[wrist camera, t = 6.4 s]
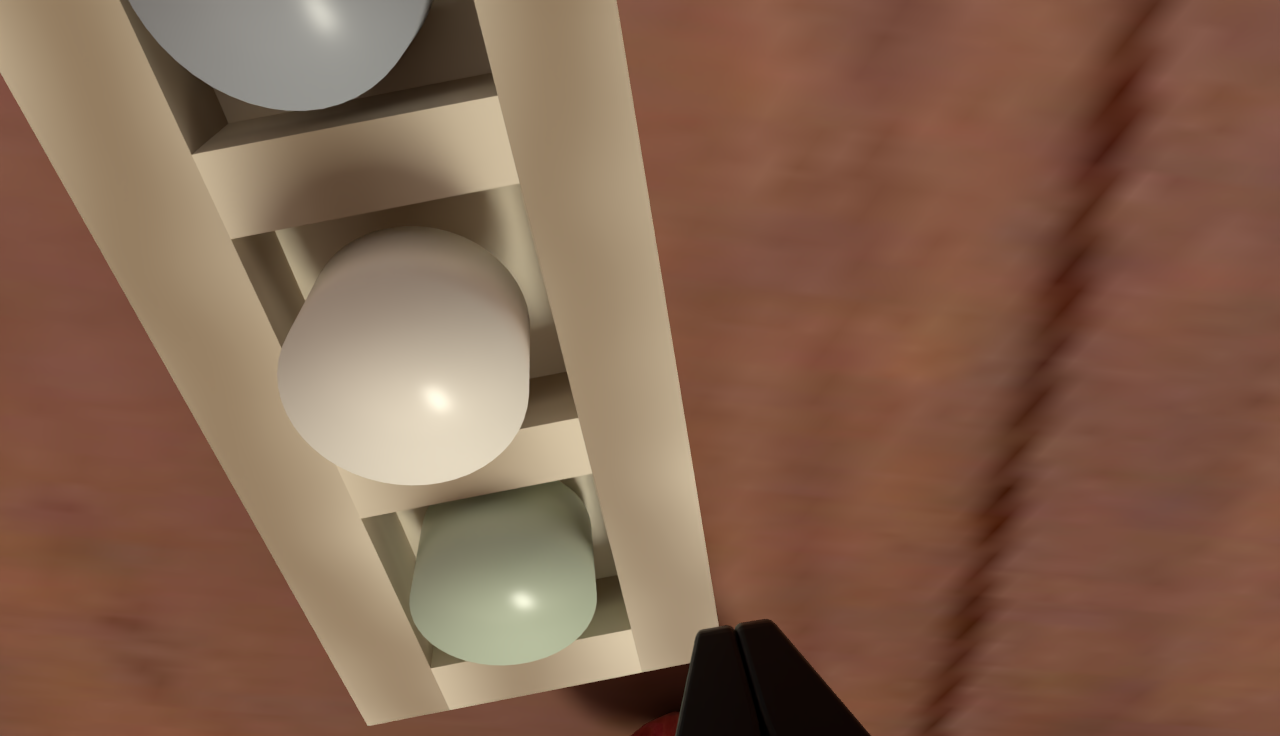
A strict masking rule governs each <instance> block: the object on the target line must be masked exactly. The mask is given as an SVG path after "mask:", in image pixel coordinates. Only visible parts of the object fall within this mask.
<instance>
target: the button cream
mask: <svg viewBox="0 0 1280 736" xmlns="http://www.w3.org/2000/svg"><path fill="white" fill-rule="evenodd" d="M529 370H530V317H529V312H528V307H527V304H526V301H525V298H524V295H523V293H522V291H521V289H520V287H519V285H518V283H517V282H516V280H515V279H514V277H513V276H512V274H511V273H510V272H509V270H508V269H507V268H506V267H505V266H504V265H503V264H502V263H501V262H500V261H499V260H498V259H497V258H496V257H495V256H493V255H492V254H491V253H490V252H489V251H487V250H486V249H484V248H483V247H481V246H480V245H478V244H477V243H475V242H473V241H471V240H469V239H467V238H465V237H463V236H460V235H457V234H454V233H452V232H449V231H445V230H441V229H436V228H431V227H422V226H400V227H392V228H386V229H382V230H378V231H374V232H371V233H369V234H367V235H364V236H362V237H359V238H358V239H356V240H354V241H352V242H351V243H349V244H347V245H346V246H345V247H343V248H342V249H341V250H340V251H338V252H337V253H336V254H335V255H334V256H333V257H332V258H331V259H330V260H329V262H328V263H327V264H326V265H325V267H324V268H323V270H322V271H321V273H320V274H319V276H318V278H317V280H316V282H315V284H314V286H313V288H312V290H311V291H310V293H309V295H308V297H307V299H306V301H305V303H304V305H303V306H302V308H301V310H300V312H299V314H298V316H297V318H296V320H295V322H294V323H293V325H292V327H291V329H290V331H289V333H288V335H287V337H286V339H285V341H284V343H283V346H282V349H281V352H280V356H279V360H278V370H277V379H278V389H279V393H280V398H281V401H282V404H283V406H284V409H285V411H286V414H287V416H288V417H289V419H290V421H291V423H292V424H293V426H294V427H295V429H296V430H297V431H298V433H299V434H300V435H301V437H302V438H303V439H304V440H305V441H306V442H307V443H308V444H309V445H310V446H311V447H312V448H313V449H314V450H316V451H317V452H318V453H319V454H321V455H322V456H323V457H324V458H326V459H327V460H329V461H331V462H332V463H334V464H335V465H337V466H339V467H341V468H343V469H345V470H347V471H349V472H351V473H353V474H356V475H359V476H361V477H364V478H367V479H371V480H375V481H379V482H383V483H390V484H396V485H429V484H436V483H443V482H447V481H451V480H455V479H458V478H460V477H463V476H466V475H468V474H471V473H473V472H475V471H476V470H478V469H480V468H482V467H484V466H485V465H487V464H488V463H490V462H491V461H493V460H494V459H495V458H496V457H497V456H499V455H500V454H501V453H502V452H503V451H504V450H505V449H506V448H507V446H508V445H509V444H510V443H511V442H512V440H513V439H514V437H515V436H516V434H517V433H518V431H519V429H520V427H521V425H522V423H523V420H524V418H525V414H526V411H527V407H528V399H529Z"/></svg>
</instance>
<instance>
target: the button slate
mask: <svg viewBox="0 0 1280 736" xmlns="http://www.w3.org/2000/svg"><path fill="white" fill-rule="evenodd" d="M129 2H130V4H131V6H132V8H133V9H134V11H135V12H136V14H137V15H138V17H139V18H140V20H141V21H142V23H143V24H144V26H145V27H146V28H147V30H148V31H149V32H150V33H151V35H152V36H153V37H154V38H155V39H156V41H157V42H158V43H159V44H160V45H161V46H162V47H163V48H164V49H165V50H166V51H167V52H168V53H169V54H170V55H171V56H172V57H173V58H174V59H175V60H176V61H177V62H178V63H179V64H181V65H182V66H183V67H184V68H186V69H187V70H188V71H189V72H191V73H192V74H193V75H195V76H196V77H198V78H199V79H201V80H202V81H204V82H205V83H207V84H208V85H210V86H211V87H213V88H215V89H217V90H219V91H221V92H223V93H225V94H227V95H229V96H231V97H234V98H237V99H239V100H242V101H244V102H247V103H250V104H254V105H258V106H262V107H266V108H271V109H278V110H286V111H308V110H316V109H324V108H328V107H331V106H335V105H339V104H342V103H344V102H346V101H349V100H351V99H354V98H356V97H358V96H359V95H361V94H363V93H364V92H366V91H367V90H369V89H371V88H372V87H373V86H374V85H376V84H377V83H378V82H379V81H380V80H382V79H383V78H384V77H385V76H386V75H387V74H388V72H389V71H390V70H391V69H392V68H393V67H394V66H395V64H396V63H397V62H398V60H399V59H400V58H401V56H402V55H403V53H404V52H405V50H406V49H407V48H408V46H409V45H410V43H411V42H412V40H413V39H414V38H415V36H416V35H417V33H418V32H419V30H420V28H421V27H422V25H423V24H424V22H425V20H426V17H427V15H428V13H429V11H430V9H431V5H432V2H433V0H129Z"/></svg>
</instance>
